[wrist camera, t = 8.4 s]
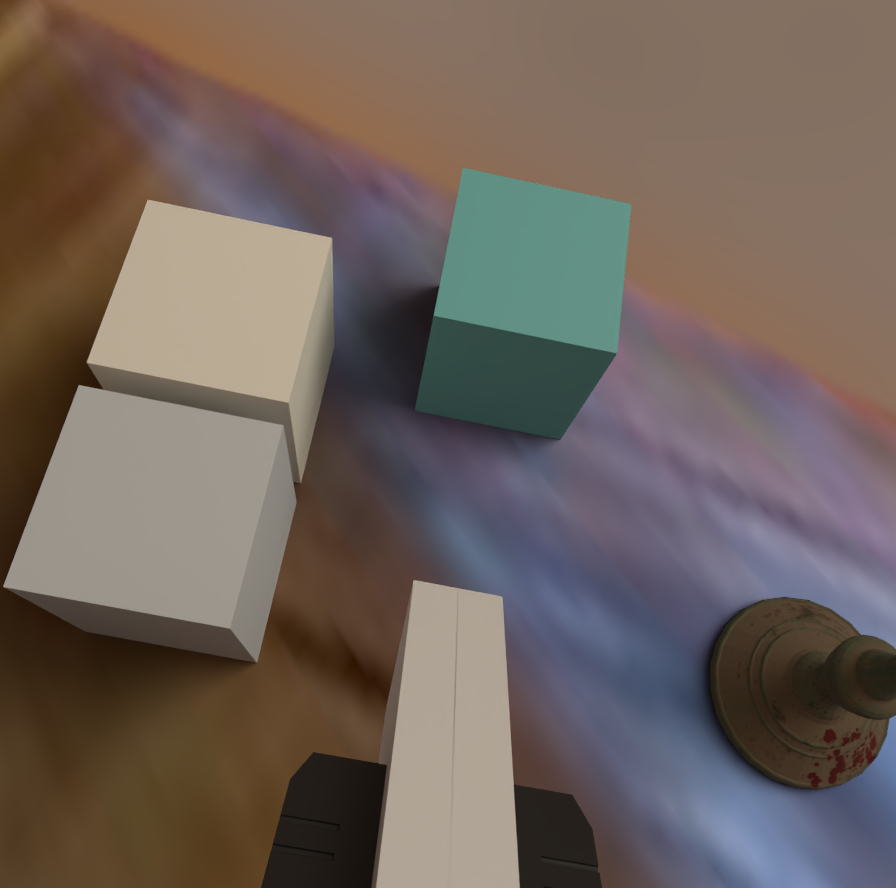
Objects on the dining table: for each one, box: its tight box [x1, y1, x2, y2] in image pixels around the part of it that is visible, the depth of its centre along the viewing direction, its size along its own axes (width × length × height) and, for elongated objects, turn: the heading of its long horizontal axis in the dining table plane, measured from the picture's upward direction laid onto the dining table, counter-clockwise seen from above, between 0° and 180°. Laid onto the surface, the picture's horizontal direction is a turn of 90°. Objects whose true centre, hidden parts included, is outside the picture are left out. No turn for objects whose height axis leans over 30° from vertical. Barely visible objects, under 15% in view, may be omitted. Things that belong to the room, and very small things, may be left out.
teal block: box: [415, 168, 631, 440], centre depth 41 cm, size 8×8×10 cm
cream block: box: [87, 200, 334, 483], centre depth 39 cm, size 8×8×10 cm
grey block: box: [3, 385, 296, 663], centre depth 35 cm, size 8×8×10 cm
